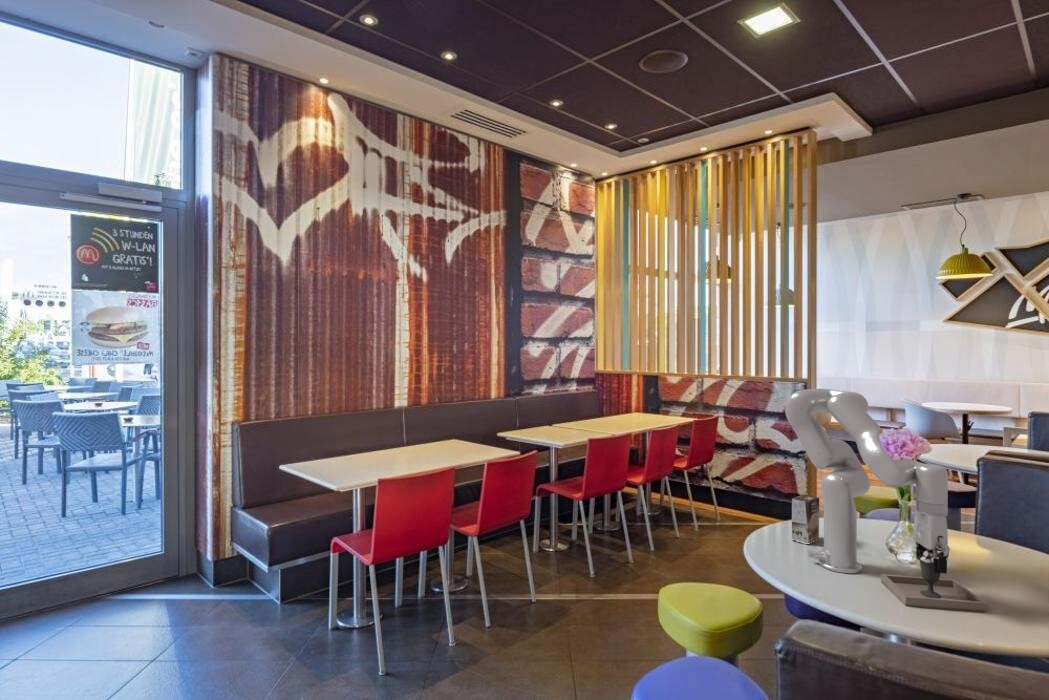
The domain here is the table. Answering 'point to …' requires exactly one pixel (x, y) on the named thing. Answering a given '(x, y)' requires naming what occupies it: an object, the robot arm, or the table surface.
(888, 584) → the tray
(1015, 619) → the table surface
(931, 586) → the sundae
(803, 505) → the coffee box
